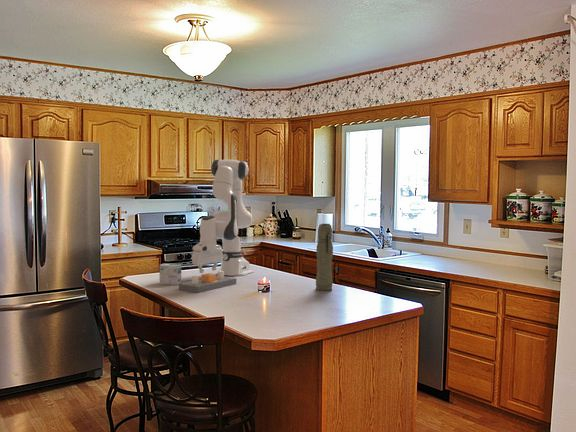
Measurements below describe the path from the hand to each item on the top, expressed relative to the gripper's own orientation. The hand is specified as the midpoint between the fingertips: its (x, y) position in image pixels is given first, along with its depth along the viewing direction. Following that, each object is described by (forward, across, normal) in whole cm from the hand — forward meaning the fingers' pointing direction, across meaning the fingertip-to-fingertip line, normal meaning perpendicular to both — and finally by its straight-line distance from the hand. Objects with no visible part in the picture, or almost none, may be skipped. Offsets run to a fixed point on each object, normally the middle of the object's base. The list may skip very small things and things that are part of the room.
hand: (207, 271), depth 283 cm
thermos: (+8, -33, +53) cm, 63 cm away
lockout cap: (+5, 0, +1) cm, 5 cm away
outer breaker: (+5, +10, +1) cm, 11 cm away
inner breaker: (+5, -10, +1) cm, 11 cm away
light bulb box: (+9, +8, -21) cm, 24 cm away
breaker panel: (+8, 0, +1) cm, 8 cm away
